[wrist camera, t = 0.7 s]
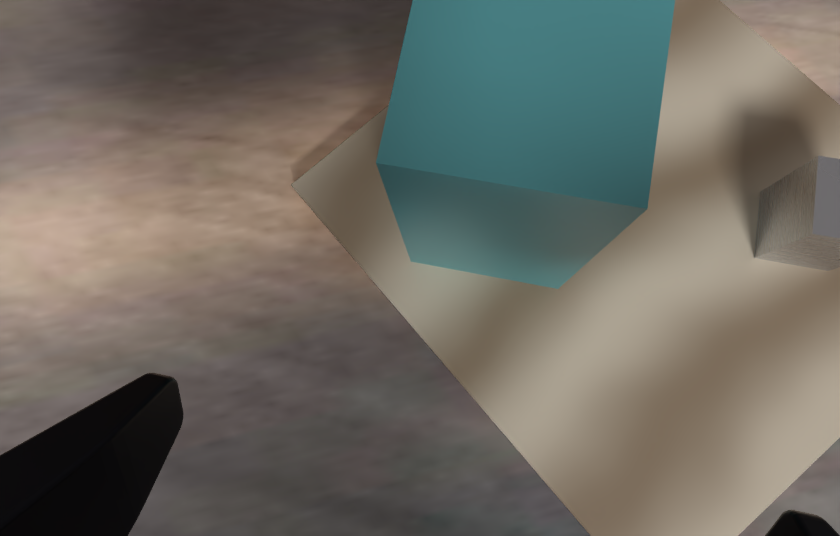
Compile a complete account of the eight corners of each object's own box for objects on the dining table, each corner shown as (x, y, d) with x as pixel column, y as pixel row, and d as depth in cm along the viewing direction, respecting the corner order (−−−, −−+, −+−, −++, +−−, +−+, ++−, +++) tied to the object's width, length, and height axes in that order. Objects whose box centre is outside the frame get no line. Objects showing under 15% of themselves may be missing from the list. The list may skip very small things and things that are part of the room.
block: (827, 270, 21) (901, 249, 17) (753, 257, 21) (812, 233, 18) (832, 203, 21) (905, 169, 18) (760, 191, 22) (818, 155, 18)
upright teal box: (557, 288, 21) (647, 209, 11) (410, 261, 22) (375, 162, 12) (580, 149, 22) (679, -34, 12) (439, 126, 23) (427, -67, 13)
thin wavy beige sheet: (994, 268, 21) (1020, 262, 20) (647, 602, 20) (657, 613, 19) (614, -67, 25) (621, -85, 24) (297, 193, 24) (290, 184, 23)
